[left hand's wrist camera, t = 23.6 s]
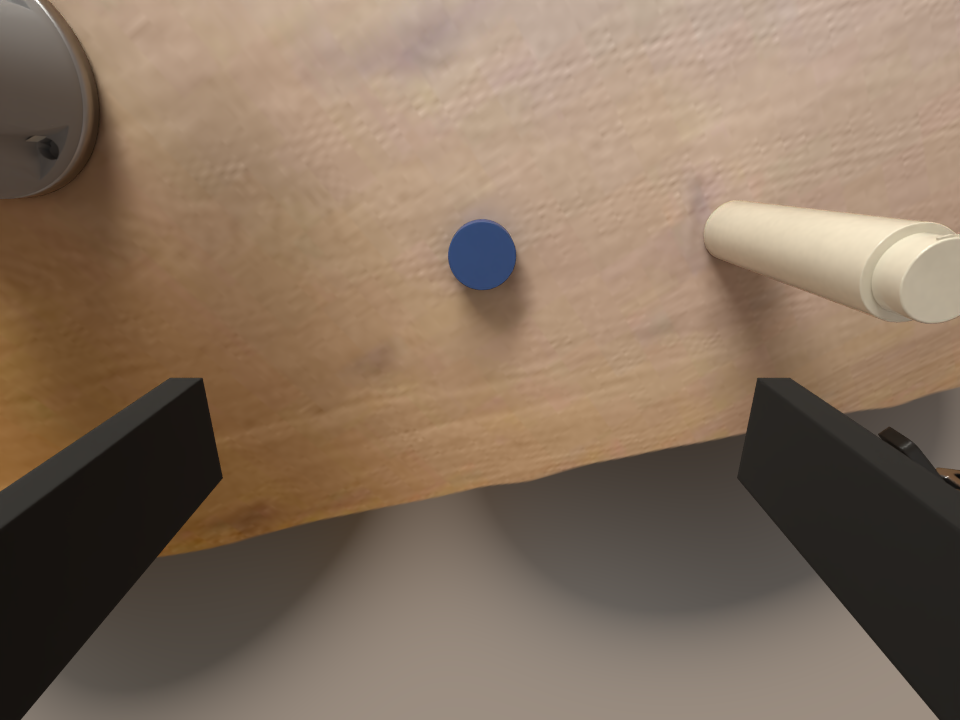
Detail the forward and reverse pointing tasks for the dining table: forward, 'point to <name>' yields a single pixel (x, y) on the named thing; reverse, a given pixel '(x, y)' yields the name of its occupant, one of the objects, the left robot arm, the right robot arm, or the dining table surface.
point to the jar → (845, 257)
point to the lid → (482, 254)
